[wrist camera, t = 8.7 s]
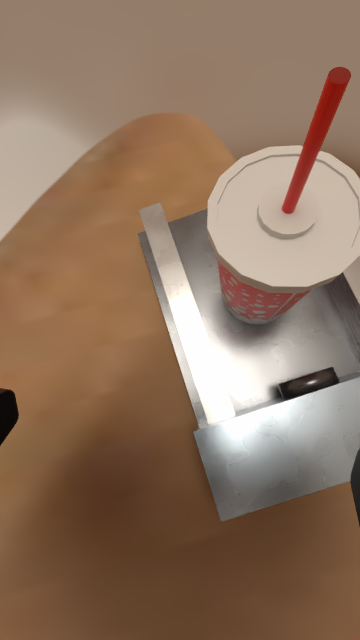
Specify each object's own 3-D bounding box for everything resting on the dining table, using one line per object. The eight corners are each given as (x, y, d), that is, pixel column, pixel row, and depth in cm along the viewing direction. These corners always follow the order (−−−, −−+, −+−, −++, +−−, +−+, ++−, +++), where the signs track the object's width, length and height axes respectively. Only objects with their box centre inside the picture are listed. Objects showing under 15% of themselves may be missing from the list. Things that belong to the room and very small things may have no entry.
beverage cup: (291, 241, 21) (435, -52, 7) (315, 327, 19) (558, 160, 5) (203, 258, 21) (180, 13, 8) (219, 343, 19) (226, 225, 6)
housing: (427, 422, 18) (505, 432, 13) (220, 488, 18) (221, 521, 13) (302, 183, 23) (325, 125, 18) (141, 240, 23) (121, 199, 18)
